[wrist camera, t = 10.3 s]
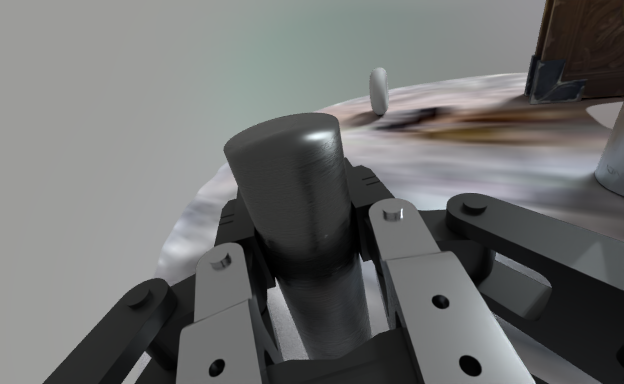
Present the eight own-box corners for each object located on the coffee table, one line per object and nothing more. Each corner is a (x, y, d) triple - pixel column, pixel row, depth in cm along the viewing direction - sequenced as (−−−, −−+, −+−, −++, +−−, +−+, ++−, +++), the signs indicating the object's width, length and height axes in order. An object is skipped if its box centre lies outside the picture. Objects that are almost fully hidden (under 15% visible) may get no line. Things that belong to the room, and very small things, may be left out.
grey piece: (315, 196, 28) (284, 64, 21) (387, 398, 12) (354, 135, 6) (288, 204, 28) (248, 74, 21) (325, 417, 12) (215, 172, 5)
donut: (375, 107, 66) (372, 65, 61) (389, 106, 65) (387, 62, 60) (371, 121, 59) (366, 74, 53) (387, 120, 57) (384, 71, 52)
